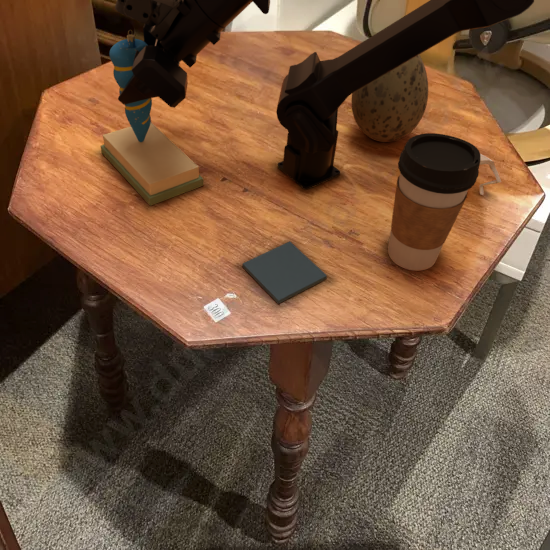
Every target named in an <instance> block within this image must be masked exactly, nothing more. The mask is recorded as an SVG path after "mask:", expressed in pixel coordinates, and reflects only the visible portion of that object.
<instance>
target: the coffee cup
mask: <svg viewBox="0 0 550 550" xmlns="http://www.w3.org/2000/svg"><path fill="white" fill-rule="evenodd" d="M480 154H481V152H480V150H479V148H477V146H475V145H474V144H473V143H471V142H469V141H468V140H464V139H462V138H459V137H456V136H452V135H448V134H443V133H435V132H428V133H420V134H416V135H413V136H411V138H409V139H407V141H406V143H405V145H404V147H403V149H402V151H401V152H400V154H399V157H398V162H397V168H398V171H399V175H398V177H397V180H396V186H395V194H394V201H393V208H392V217H391V224H390V232H389V233H390V234H389V239H388V245H387V254H388V256H389V258H390V259H391V261H392V262H393V263H394V264H396V265H397V266H399V267H401V268H403V269H405V270H409V271H416V272H417V271H418V272H419V271H421V272H422V271H425V270H427V269H428V270H429V269H430V268H432V267H433V266H434V265H435V263H436V262H437V260H438V257H439V256H440V253H441V251H442V248H443V247H444V244H445V243H446V240H447V239H448V236H449V235H450V232H451V230H452V228H453V226H454V224H455V222H456V220H457V218H458V217H459V214H460V213H461V210H462V208H463V206H464V204H465V202H466V200H467V197H468V191H469V190H470V189H471V188H472V187H473V186H475V184H476V183H477V180H478V177H479V172H480V170H479V169H480V166H481V165H480V159H481V156H480Z"/></svg>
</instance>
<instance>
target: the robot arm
mask: <svg viewBox="0 0 550 550" xmlns="http://www.w3.org/2000/svg"><path fill="white" fill-rule="evenodd" d="M252 3H253V4H254V5H255V6H256V7H257V8H258V10H260V12H261V13H262V14H263V15H267V14H269V13H270V7H271V0H116V2H115V5H114V9H115V10H116V12H117V13H119V14H120V15H122V16H124V17H129V18H131V19H133V20H134V21H136V22H139V23H141V24H143V28H142V33H143V41H144V42H145V43H146V44H147V45H148V46H145V47H144V48H143V49H142V50H141V51H140V52H139V51H138V50H136V54H135V57H134V64H133V67H132V72H133V76H132V77H131V79H130V80H129V82H128V83H127V85H126V86H125V88H124V89H123V91H122V92H121V94H119V96H118V97H117V100H118V101H119V102H120V104H122V105H124V106H125V105H126V104H130V103H134V102H137V101H141V100H145V99H150V98H151V99H155V98H159V99H160V100H161V101H163V103H165V104H166V105H167V106H168V107H170V108H174V109H175V108H176V107H177V106H179V105H180V103H182V102H183V101H185V99H186V98H187V97H186V96H187V91H188V84H189V81H188V72H187V71H185V70H184V69H183V68H182V67H181V66H180V65H181V64H180V63H181V62H183V63H184V64H185V65H186V66H187V67H188V68H192V67H193V66H194V65H195V64H196V63H197V57H198V54H200V53H201V51H203V50H204V49H205V48H206V47H207V46H208V45H209V44H210V43H211V44H212V45H213V46H215V45H216V44H217V43H218V42H219V41H220V40H221V34H222V33H221V32H222V31H223V30H225V29H226V28H227V27H228V26H229V25H231V23H232V22H233V21H234V20H235V19H236V18H237V17H238V16H239V15H240V14H241V13H242V12H244V11H245V9H247V8H248V7H249V5H251V4H252ZM534 3H535V0H428V1H427V2H425V3H423V4H422V5H420V6H418V7H416V8H415V9H413V10H412V11H410V12H408V13H407V14H405V15H404V16H402V17H401V18H399V19H398V20H396V21H394V22H393V23H391V24H389V25H388V26H386V27H384V28H383V29H381V30H379V31H378V32H376V33H375V34H373V35H372V36H369V37H368V38H366V39H365V40H363V41H362V42H360V43H358V44H357V45H355V46H354V47H352V48H351V49H349V50H347V51H346V52H344V53H342V54H341V55H339V56H338V57H335V58H331V59H324V60H320V57H319V55H318V52H316V51H314V52H312V53H311V54H309V55H308V56H307V57H306V58H305V59H304V60H303V61H301V62H300V63H297V64H293V65H290V66H289V67H288V68H289V69H288V73H287V74H286V75H285V76H284V78H283V80H282V83H281V87H280V91H279V97H278V102H277V106H276V111H275V113H276V118H277V120H278V122H279V124H280V125H281V126H282V128H283V129H285V130H286V131H287V137H286V145H284V149H283V160H282V161H280V162H278V163H277V168H278V169H279V170H280V171H281V172H282V173H284V174H285V175H286V176H288V178H289V179H291V180H292V181H293V182H294V183H296V184H297V186H299V187H301V188H302V189H303V190H309V189H312V188H313V187H316V186H318V185H320V184H323V183H325V182H328V181H331V180H332V179H335V178H338V177H340V176H341V170H339V169H338V168H337V167H336V166H335V165H334V163H335V156H336V152H337V151H336V150H337V144H338V138H339V137H338V136H339V130H337V129H338V114H339V113H338V112H339V108H340V107H341V105H342V104H343V103H344V102H345V101H346V100H347V98H349V97H350V96H352V93H353V92H355V91H357V90H359V89H360V88H362V87H364V86H366V85H367V84H369V83H371V82H373V81H374V80H376V79H378V78H379V77H381V76H383V75H385V74H386V73H388V72H390V71H392V70H393V69H395V68H397V67H399V66H400V65H402V64H404V63H405V62H407V61H409V60H411V59H412V58H414V57H416V56H418V55H421V54H423V53H425V52H426V51H428V50H430V49H432V48H433V47H435V46H437V45H438V44H440V43H442V42H443V41H445V40H447V39H449V38H450V37H452V36H454V35H456V34H457V33H461V32H463V31H471V30H477V29H478V30H479V29H485V28H490V27H492V26H495V25H497V24H500V23H502V22H505V21H507V20H510V19H512V18H515V17H518V16H520V15H522V13H524V12H526V11H527V10H528V9H530V8H531V6H533V4H534Z"/></svg>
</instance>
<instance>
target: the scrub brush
mask: <svg viewBox="0 0 550 550" xmlns="http://www.w3.org/2000/svg"><path fill="white" fill-rule="evenodd" d="M102 139H103V144H101V145H100V151H101V154H102V155H103V156H104V157H105V158H106V159H107V160H108V161H109V163H110V164H111V165H112V166H113V167H114V168H115V169H116V170H117V171H118V172H119V174H120V175H121V176H122V177H123V178H124V179H125V180H126V181H127V182H128V184H130V186H131V187H132V188H133V189H134V190H135V191H136V192H137V193H138V195H140V196H141V198H142V199H143V200H144V201H145V202H146V203H147V204H148V205H149V206H150V207H151V206H154V205H157V204H159V203H163V202H165V201H167V200H169V199H173V198H175V197H177V196H180V195H183V194H185V193H188V192H190V191H193V190H196V189H198V188H201V187H203V186H204V183H205V182H204V177H202V175H200V166H199V165H198V164H197V163H196V162H195V161H193V159H191V158H190V157H189V156H188V155H187V154H186V153H185V152H184V151H183V150H182V149H181V148H180V147H178V146H177V144H175V143H174V142H173V141H172V140H171V139H170V138H169V137H168V136H167V135H166V134H165V133H163V131H162V130H160V129H159V128H158V126H156V125H155V124H154V123H153V122H152V121H151V124H150V127H149V129H148V132H147V134H146V136H145V139H144V141H143V142H139V141H138V139H137V137H136V135H135V133H134V131H133V129H132V127H131V125H130V126H127V127H124V128H121V129H117V130H113V131H110V132H108V133H104V134H102Z"/></svg>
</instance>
